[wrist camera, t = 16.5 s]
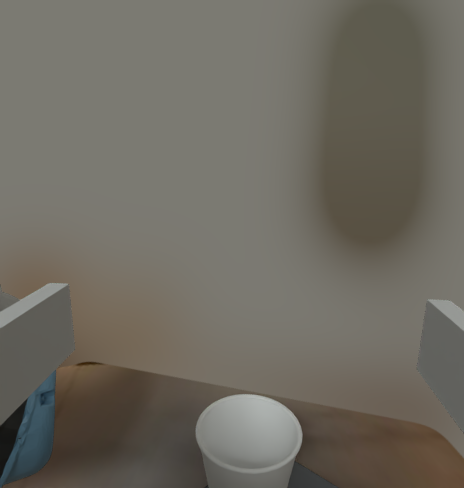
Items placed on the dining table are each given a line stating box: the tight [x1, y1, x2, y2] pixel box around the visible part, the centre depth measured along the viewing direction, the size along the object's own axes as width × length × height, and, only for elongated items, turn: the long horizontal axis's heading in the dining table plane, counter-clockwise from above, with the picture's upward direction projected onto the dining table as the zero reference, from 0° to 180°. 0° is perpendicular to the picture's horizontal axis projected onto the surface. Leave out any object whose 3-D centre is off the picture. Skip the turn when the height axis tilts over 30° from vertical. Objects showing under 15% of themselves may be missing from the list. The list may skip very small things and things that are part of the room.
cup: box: [195, 394, 303, 488], centre depth 35 cm, size 10×10×11 cm
